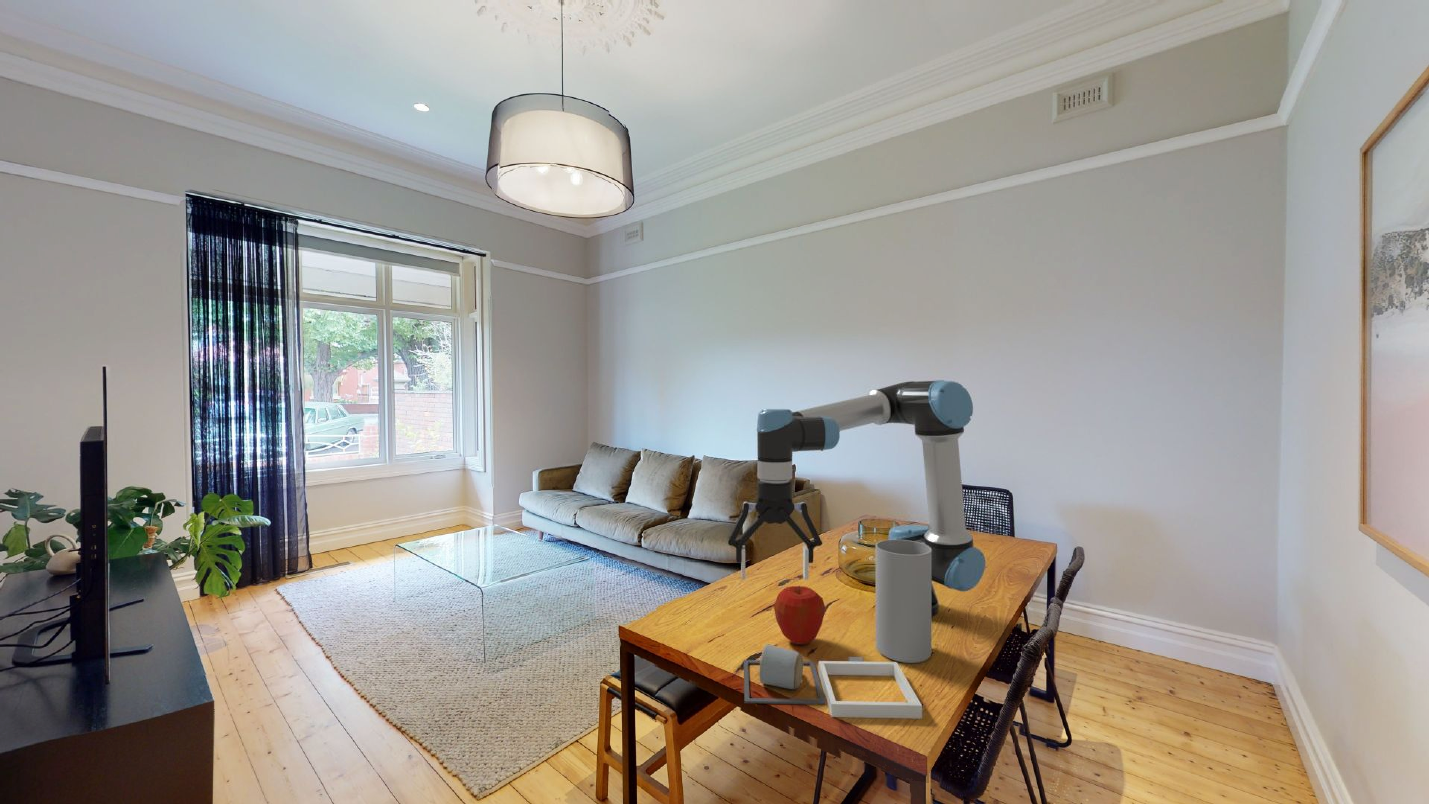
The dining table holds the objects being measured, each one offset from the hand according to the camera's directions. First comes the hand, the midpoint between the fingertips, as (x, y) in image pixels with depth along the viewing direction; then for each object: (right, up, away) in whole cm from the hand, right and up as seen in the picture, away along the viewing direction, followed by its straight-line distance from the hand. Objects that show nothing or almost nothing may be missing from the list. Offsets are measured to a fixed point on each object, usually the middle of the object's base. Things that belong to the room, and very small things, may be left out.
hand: (774, 577), depth 115 cm
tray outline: (+1, -22, -2) cm, 22 cm away
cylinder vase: (+32, -21, +11) cm, 40 cm away
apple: (+8, -21, +16) cm, 28 cm away
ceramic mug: (+1, -22, -2) cm, 22 cm away
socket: (+18, -22, -6) cm, 29 cm away
